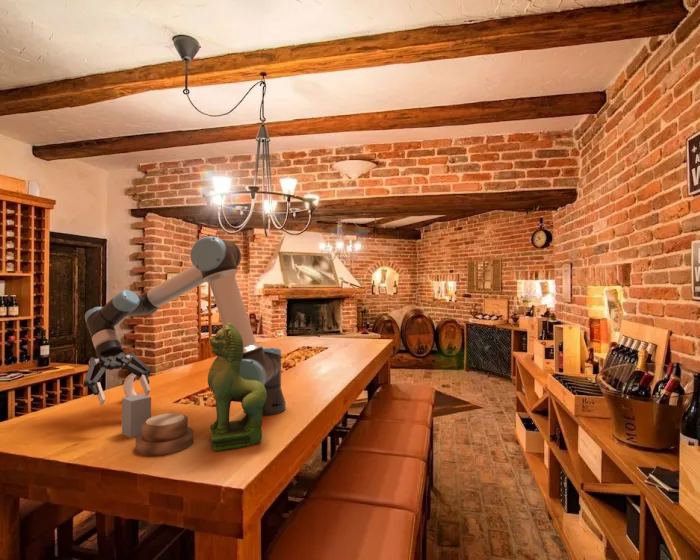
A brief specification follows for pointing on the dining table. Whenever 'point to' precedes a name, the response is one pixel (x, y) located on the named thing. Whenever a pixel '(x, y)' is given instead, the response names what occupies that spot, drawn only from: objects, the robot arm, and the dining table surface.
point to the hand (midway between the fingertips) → (126, 397)
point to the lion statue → (234, 394)
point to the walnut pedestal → (164, 435)
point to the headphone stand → (129, 385)
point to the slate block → (135, 414)
